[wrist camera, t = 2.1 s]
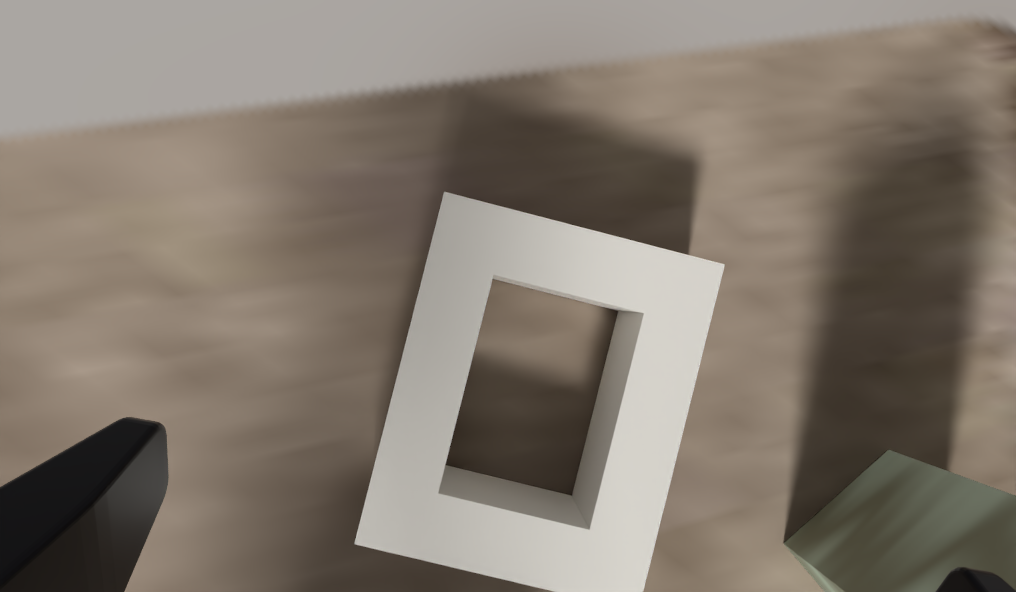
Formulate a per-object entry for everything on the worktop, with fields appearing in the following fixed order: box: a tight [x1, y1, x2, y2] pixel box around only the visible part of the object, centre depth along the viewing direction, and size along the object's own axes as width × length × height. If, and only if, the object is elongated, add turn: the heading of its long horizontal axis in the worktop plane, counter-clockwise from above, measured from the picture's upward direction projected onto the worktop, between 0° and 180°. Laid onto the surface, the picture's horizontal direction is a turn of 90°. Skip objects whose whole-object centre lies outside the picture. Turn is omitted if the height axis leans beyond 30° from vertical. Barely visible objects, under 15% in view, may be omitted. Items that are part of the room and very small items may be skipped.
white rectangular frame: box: [354, 192, 725, 592], centre depth 25 cm, size 11×9×4 cm
